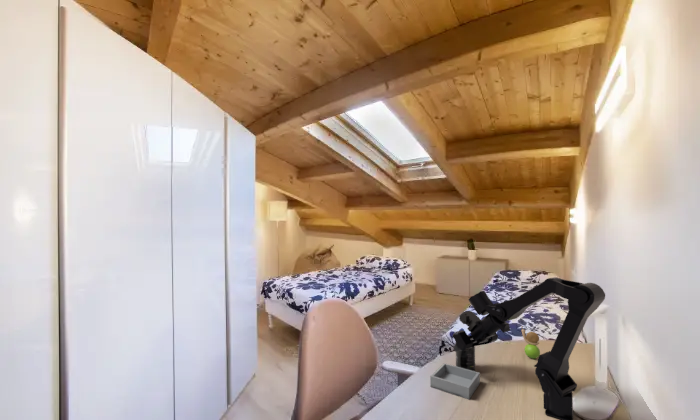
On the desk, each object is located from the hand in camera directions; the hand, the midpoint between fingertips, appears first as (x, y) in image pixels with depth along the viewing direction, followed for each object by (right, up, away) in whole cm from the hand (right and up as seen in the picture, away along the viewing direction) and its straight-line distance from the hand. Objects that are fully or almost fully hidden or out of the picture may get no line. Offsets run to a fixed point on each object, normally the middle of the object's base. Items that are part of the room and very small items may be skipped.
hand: (462, 347), depth 119 cm
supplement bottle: (+1, -8, -1) cm, 8 cm away
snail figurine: (+31, -8, +9) cm, 33 cm away
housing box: (-7, -7, -13) cm, 16 cm away
